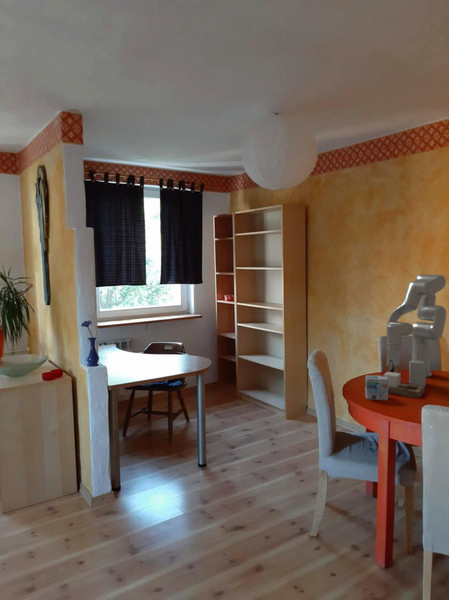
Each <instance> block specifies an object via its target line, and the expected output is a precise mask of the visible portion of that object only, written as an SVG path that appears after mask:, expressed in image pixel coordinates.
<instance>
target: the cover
mask: <svg viewBox="0 0 449 600" xmlns="http://www.w3.org/2000/svg"><path fill="white" fill-rule="evenodd" d="M383 376H387V378H388V386H389V387H396V388H397V387H398V386H399V385H400V384H401V381H402V380H401V378H402V377H401V376H402V374H401V372H398V373H394V372H390V371H386V372H385V373H384V374H383Z"/></svg>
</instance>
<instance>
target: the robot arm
mask: <svg viewBox="0 0 449 600" xmlns="http://www.w3.org/2000/svg"><path fill="white" fill-rule="evenodd" d="M446 282H447V279H446V277H445V276H444V275H441V274H431V273H430V274H428V273H427V274H424V273H423V274H418V275H417V276H416V277H415V280H413V281H411V282H409V284H408V286H407V289H406V292H405V294H404V297H403V300H402V303H401V304H400V305H398V307H396V308H395V309H394V310H393V311H392V312H391V313H390V315H389V318H388V320H387V322H386V323H387V324H386V350H387V352H386V353H387V354H386V367H388V369H389V372H394V373H396V372H395V367H398V368H399V365H400V362H401V358H400V357H401V356H400V355H401V354H400V352H401V350H402V337H407V336H411V339H412V349H411V350H412V352H411V353H412V355H411V356H412V357H411V361H423V362H424V363H425V364H426V378H429V377H432V376H433V373H432V372H431V371H430V362H431V361H430V358H431V357H430V353H431V346H430V342H429V340H431V341H439V340H441V338H442V337H443V333H444V329H445V324H446V320H447V311H446V308H445V307H444V306H442V305H437V304H436V299H437V298H436V297H437V296H436V294H437V293H438V292H440V291H441V290H443V289H444V288H445V286H446ZM416 310H417V312H416V316H417V318H418V320H421V321H416V322H414V323H413V324H411V323H409V322H405V321H404V322H402V321H399V319H400V318H401V317H402V316H404V315H406V314H409V313H411V312H414V311H416ZM423 321H424V322H423ZM425 321H427V322H425ZM431 322H432V323H431ZM393 368H394V369H393Z"/></svg>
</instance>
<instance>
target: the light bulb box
mask: <svg viewBox="0 0 449 600" xmlns="http://www.w3.org/2000/svg"><path fill="white" fill-rule="evenodd" d="M364 386H365V388H364V389H365V391H364V394H365V395H364V396H365V399H366V400H374V401H375V400H378V401H379V400H380V401H389V393H388V378H387V376H384V375H365V385H364Z"/></svg>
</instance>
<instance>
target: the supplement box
mask: <svg viewBox="0 0 449 600" xmlns="http://www.w3.org/2000/svg"><path fill="white" fill-rule="evenodd" d="M408 364H409V365H408V366H409V367H408V368H409V369H408V370H409V372H408V374H409V375H408V377H409V378H408V382H409V383H408V384H410V385H418V386H425V387H426V378H427V377H426V364H425V363H424V362H423V361H412V360H409V363H408Z"/></svg>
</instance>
